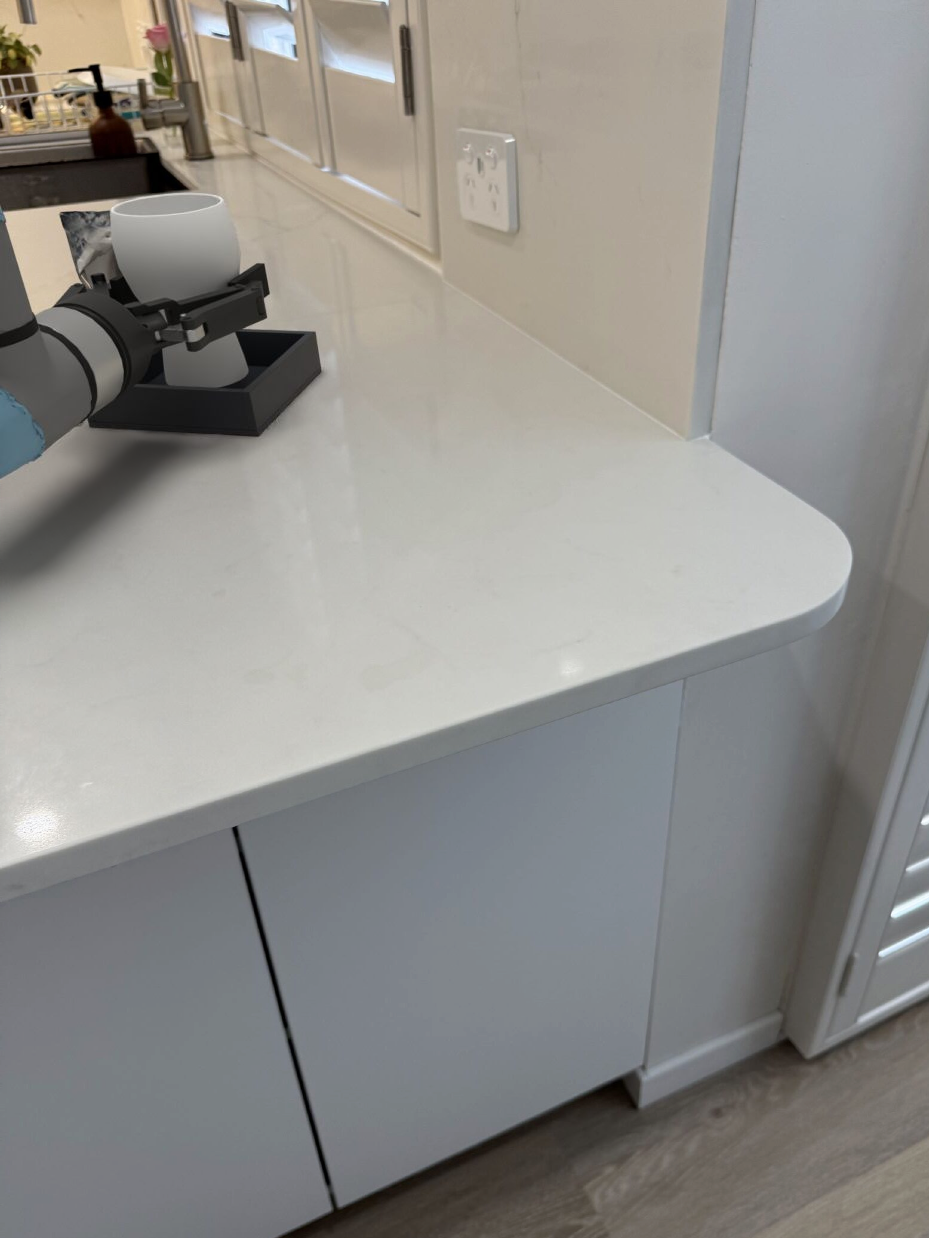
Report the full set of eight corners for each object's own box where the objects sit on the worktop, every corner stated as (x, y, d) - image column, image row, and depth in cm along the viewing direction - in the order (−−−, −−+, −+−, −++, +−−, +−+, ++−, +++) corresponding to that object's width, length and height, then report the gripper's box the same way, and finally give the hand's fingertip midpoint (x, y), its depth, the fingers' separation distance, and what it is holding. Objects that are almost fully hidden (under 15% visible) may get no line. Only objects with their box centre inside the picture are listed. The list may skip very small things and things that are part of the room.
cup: (202, 352, 96) (163, 188, 87) (286, 365, 92) (255, 195, 83) (126, 387, 89) (75, 213, 79) (214, 403, 85) (171, 221, 75)
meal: (227, 318, 112) (202, 196, 104) (235, 328, 109) (209, 203, 100) (95, 338, 107) (58, 211, 99) (99, 349, 104) (61, 219, 96)
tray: (89, 426, 87) (75, 384, 84) (172, 364, 99) (163, 325, 97) (258, 436, 84) (249, 392, 81) (321, 371, 97) (315, 331, 94)
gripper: (-35, 398, 76) (107, 315, 93) (233, 410, 72) (329, 321, 89) (-74, 301, 71) (83, 232, 88) (210, 309, 67) (317, 236, 84)
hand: (207, 277), depth 89 cm, fingers closed on cup, 11 cm apart
